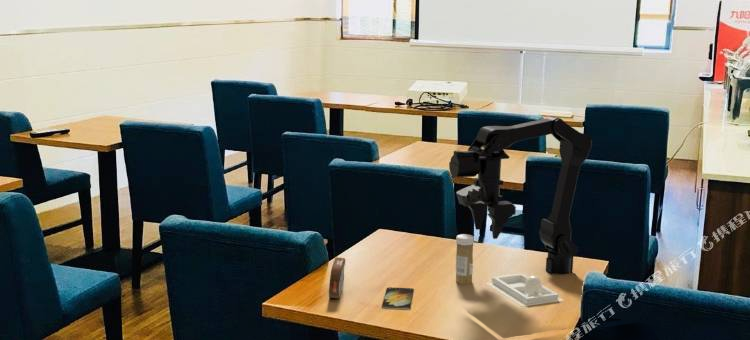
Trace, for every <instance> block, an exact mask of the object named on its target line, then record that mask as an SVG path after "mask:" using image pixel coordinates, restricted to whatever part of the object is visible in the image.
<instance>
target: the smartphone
mask: <svg viewBox="0 0 750 340" xmlns="http://www.w3.org/2000/svg"><path fill="white" fill-rule="evenodd" d="M414 292H415V289H414V288H410V287H391V286H390V287H386V290H385V293H384V297H383V300H382V304H381V309H386V310H402V311H403V310H407V311H409V310H411V309H412V304H413V298H414Z"/></svg>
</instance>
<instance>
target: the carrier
mask: <svg viewBox="0 0 750 340" xmlns="http://www.w3.org/2000/svg"><path fill="white" fill-rule="evenodd" d="M528 277H529V276H528V275H525V274H524V273H515V274H506V275H505V274H504V275H499V276H498V275H497V276H492V277H491V278H492V279H491V281H490V282H486V284H487V285H488V286H489V287H491V288H493V289H494V290H496V291H498V292H499V293H501V294H502V295H503V296H506V297H507V298H508V299H510V300H511V301H513V302H515V303H516V304H518V305H519V306H521V307H530V306H536V305H537V306H538V305H541V304H550V303H551V304H552V303H556V302H564V301H565V299H563V298H561V297H559V294H558V293H557V292H555V291H553V290H552V289H550V288H548V287H547V286H545V285H543V284H541V285H542V292H541V294H540V295H538V296H531V297H530V296H528V295H527V294H526V293H525V290H524V286H525V283H526V280H527V278H528Z"/></svg>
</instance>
